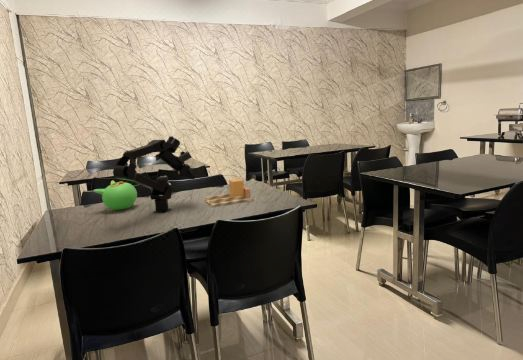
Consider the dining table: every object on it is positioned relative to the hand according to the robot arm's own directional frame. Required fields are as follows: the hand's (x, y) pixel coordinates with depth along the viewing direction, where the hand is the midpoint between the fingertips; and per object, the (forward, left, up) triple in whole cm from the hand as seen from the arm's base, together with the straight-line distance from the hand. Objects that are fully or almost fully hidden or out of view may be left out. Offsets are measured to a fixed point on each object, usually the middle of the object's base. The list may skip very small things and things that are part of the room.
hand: (194, 178), depth 188 cm
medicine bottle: (+13, +27, -14) cm, 33 cm away
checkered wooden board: (+7, -15, -14) cm, 21 cm away
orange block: (+10, -19, -12) cm, 25 cm away
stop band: (+13, -22, -12) cm, 28 cm away
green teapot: (-13, +37, -14) cm, 42 cm away
